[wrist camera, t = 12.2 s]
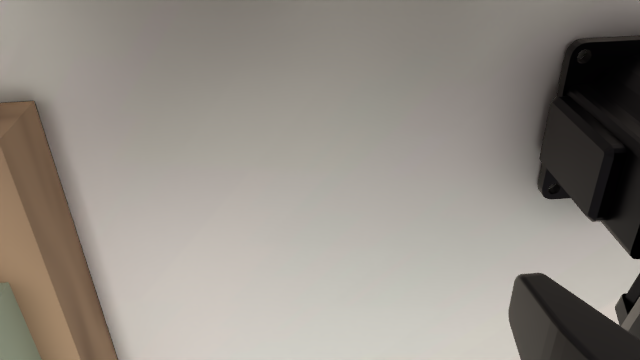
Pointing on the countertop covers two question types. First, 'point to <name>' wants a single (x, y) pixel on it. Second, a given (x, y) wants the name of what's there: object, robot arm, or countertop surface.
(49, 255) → the walnut base
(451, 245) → the countertop surface
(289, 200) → the countertop surface
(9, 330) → the sage block
